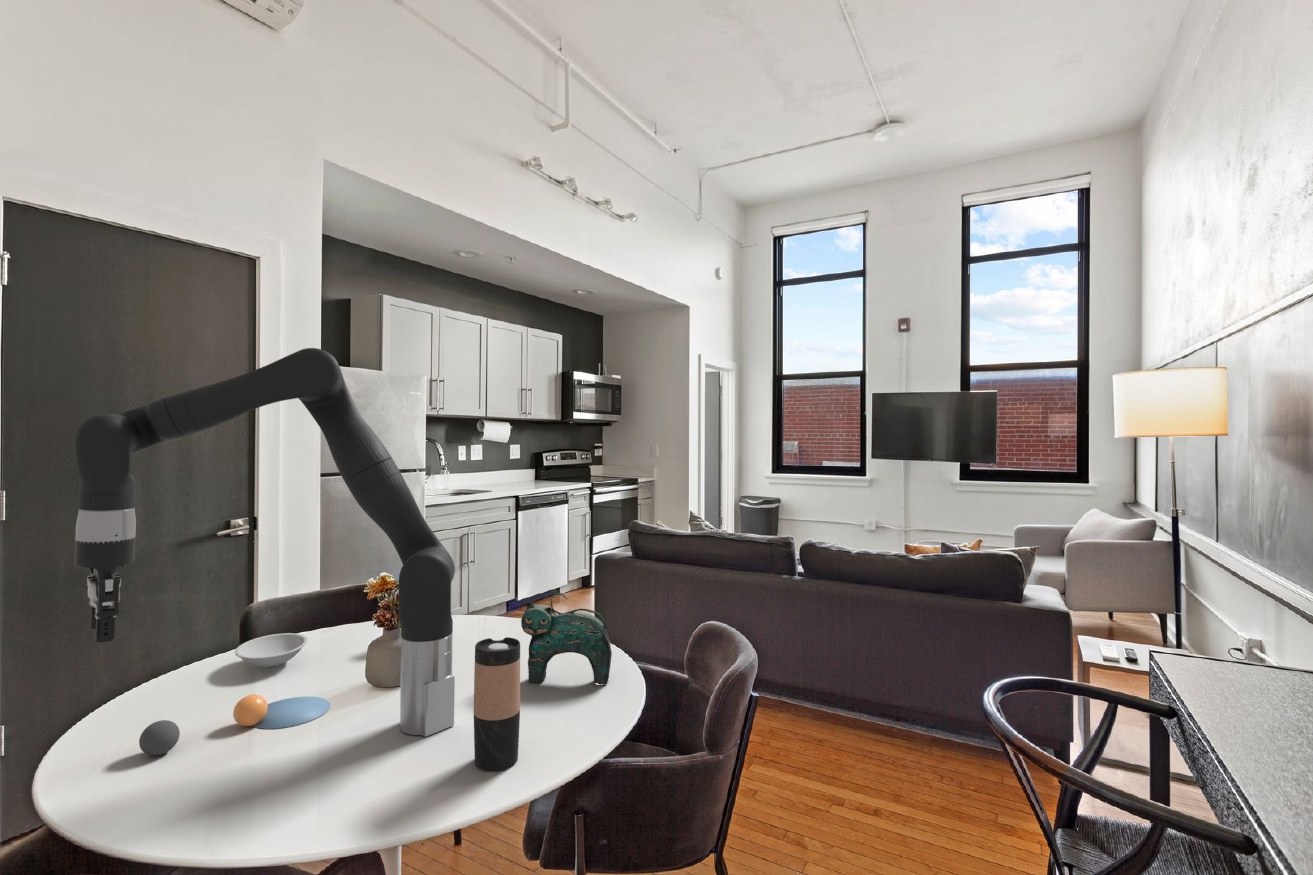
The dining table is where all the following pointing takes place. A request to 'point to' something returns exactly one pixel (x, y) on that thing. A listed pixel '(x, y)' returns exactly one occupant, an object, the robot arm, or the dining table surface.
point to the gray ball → (159, 737)
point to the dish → (271, 649)
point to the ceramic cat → (565, 639)
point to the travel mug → (496, 703)
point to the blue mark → (293, 712)
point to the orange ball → (250, 710)
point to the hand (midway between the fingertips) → (101, 634)
